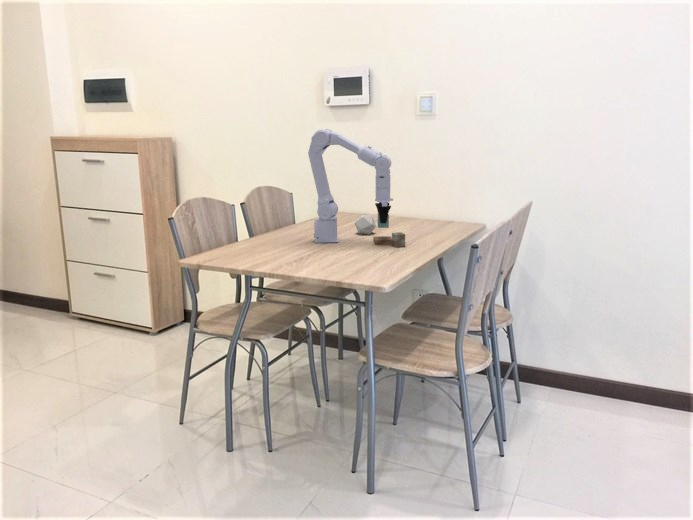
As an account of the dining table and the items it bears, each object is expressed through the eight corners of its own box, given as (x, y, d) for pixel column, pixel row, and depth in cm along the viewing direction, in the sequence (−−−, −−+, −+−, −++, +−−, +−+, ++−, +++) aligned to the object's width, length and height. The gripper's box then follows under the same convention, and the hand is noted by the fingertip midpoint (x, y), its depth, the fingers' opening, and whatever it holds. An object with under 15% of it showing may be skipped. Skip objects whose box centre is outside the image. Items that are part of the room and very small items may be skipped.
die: (362, 237, 245) (376, 219, 243) (347, 226, 248) (361, 208, 247) (369, 241, 252) (382, 223, 251) (355, 229, 255) (368, 212, 254)
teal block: (378, 227, 228) (378, 215, 226) (377, 226, 231) (377, 213, 230) (388, 227, 228) (388, 215, 226) (387, 225, 232) (387, 213, 230)
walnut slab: (374, 246, 228) (374, 240, 227) (373, 242, 234) (373, 236, 234) (392, 245, 228) (392, 239, 227) (390, 242, 235) (390, 236, 234)
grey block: (395, 247, 223) (395, 234, 222) (391, 245, 227) (391, 232, 226) (405, 246, 224) (405, 234, 223) (401, 244, 228) (401, 232, 227)
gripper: (395, 189, 219) (395, 225, 222) (391, 185, 233) (390, 218, 236) (376, 189, 219) (376, 225, 222) (373, 185, 233) (373, 219, 236)
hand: (382, 222), depth 229 cm, fingers closed on teal block, 4 cm apart
